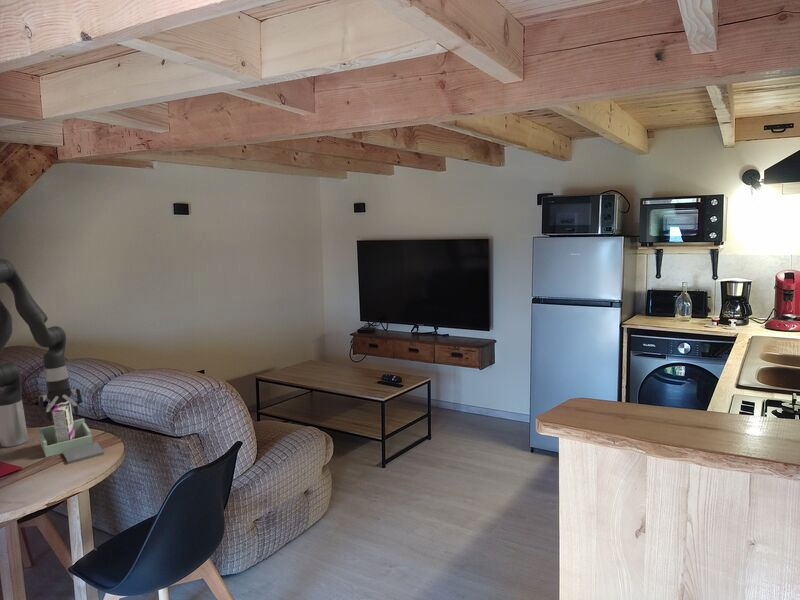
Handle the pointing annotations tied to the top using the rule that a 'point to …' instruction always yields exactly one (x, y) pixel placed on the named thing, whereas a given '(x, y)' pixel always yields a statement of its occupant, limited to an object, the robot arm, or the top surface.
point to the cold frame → (50, 437)
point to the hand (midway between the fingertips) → (62, 417)
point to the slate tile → (83, 453)
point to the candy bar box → (63, 422)
